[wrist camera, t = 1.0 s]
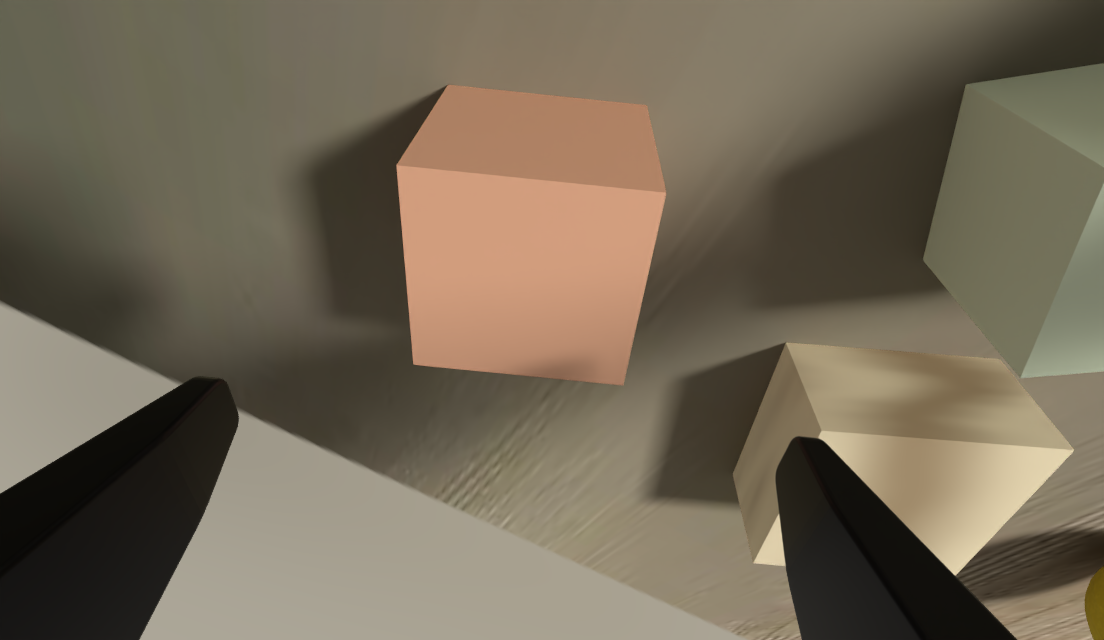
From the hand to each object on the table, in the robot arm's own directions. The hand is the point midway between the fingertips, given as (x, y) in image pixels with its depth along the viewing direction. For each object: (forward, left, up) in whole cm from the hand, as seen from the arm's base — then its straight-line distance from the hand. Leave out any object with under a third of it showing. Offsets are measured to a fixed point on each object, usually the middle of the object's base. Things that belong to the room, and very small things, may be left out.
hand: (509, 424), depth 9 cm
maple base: (-12, +8, -9) cm, 17 cm away
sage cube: (-13, -2, -9) cm, 16 cm away
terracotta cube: (0, 0, -9) cm, 9 cm away
